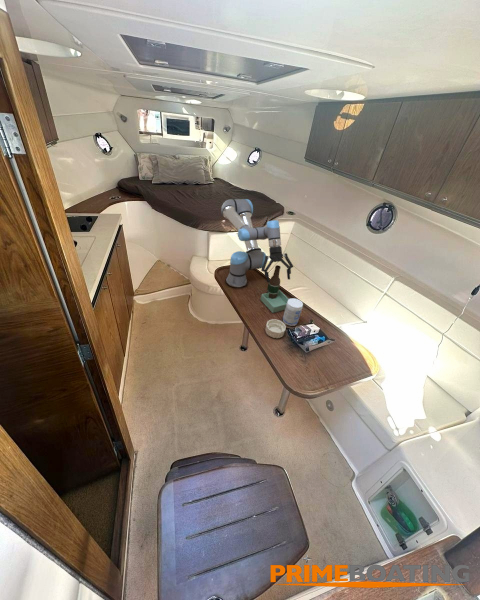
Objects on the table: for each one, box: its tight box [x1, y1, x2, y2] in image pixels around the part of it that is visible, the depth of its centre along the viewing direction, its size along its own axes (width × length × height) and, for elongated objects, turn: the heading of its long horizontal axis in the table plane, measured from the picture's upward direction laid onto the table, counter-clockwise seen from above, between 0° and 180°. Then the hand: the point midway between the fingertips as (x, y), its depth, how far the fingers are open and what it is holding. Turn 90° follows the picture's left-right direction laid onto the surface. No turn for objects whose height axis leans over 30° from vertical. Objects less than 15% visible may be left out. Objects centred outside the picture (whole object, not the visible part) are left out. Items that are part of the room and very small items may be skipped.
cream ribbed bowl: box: [264, 318, 287, 339], centre depth 146 cm, size 11×11×5 cm
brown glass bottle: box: [266, 265, 281, 299], centre depth 169 cm, size 8×8×24 cm
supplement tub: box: [282, 297, 304, 327], centre depth 152 cm, size 10×10×15 cm
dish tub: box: [259, 289, 290, 314], centre depth 168 cm, size 15×15×5 cm
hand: (278, 280), depth 158 cm, fingers open, 13 cm apart
